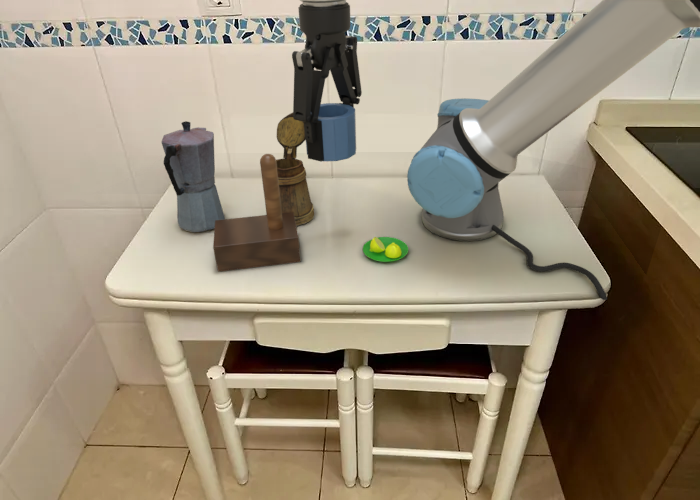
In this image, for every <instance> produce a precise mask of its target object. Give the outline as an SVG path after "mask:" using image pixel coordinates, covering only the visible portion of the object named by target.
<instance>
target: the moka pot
mask: <svg viewBox="0 0 700 500" xmlns="http://www.w3.org/2000/svg"><path fill="white" fill-rule="evenodd" d="M180 123H181V126H182V129H179V130H175V131H172V132H169V133H166V134H164V135H163V137H162V139H161V146H162V149H163V152H164V157H163V166H164V169H165V171H166V173H167V175H168V178H169V180H170V183H171V185H172V187H173V190H174V192H175V195H176V209H177V211H176V213H177V214H176V215H177V217H176V218H177V224H178V226H179V228H180V229H182V230H184V231H187V232H191V233H197V232H198V233H202V232H206V231H211V230H214V229H215V220H224V219H226V217H225V214H224V210H223V206H222V204H221V200H220V195H219V192H218V188H217V186H216V184H215V183H216V178H215V172H216V169H215V168H216V167H215V166H216V164H215V133H214V132H213V131H210V130H207V128H206V127H199V126H198V127H193V128H191V122H190V121H186V120H185V121H182V122H180Z"/></svg>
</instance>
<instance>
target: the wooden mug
mask: <svg viewBox="0 0 700 500" xmlns="http://www.w3.org/2000/svg"><path fill="white" fill-rule="evenodd" d="M276 140H277V142H278V143H279V145H280V146H281V147H282V149H283V155H282V158H278V159H276V163H277V172H278V181H279V191H280V200H281V209H282V213H289V212H294V217H295V222H296V227H297V226H301V225H305V224H307V223H309V222H311V221H312V220H313V219H314V217H315V207H314V204H313V202H312V200H311V195H310V191H309V186H308V181H307V171H306V167H305V166H304V163H303V161H302V160H301V159H297V157H298V156H297V152H298V148H299V147H300V146H301V145H302V144H303V143H304V142H306V140H305V132H304V123H303V121H298V120H294V118H293V112H290V113H289V114H287V115H285V116H284V117H283V118H282V119H280V120H279V122H278V123H277V126H276Z"/></svg>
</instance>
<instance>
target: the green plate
mask: <svg viewBox="0 0 700 500" xmlns="http://www.w3.org/2000/svg"><path fill="white" fill-rule="evenodd" d="M362 252H363V254H364V255H365V256H366V257H367V258H369V259H370V260H372V261H373V260H374V261H377V262H383V263H389V262H390V263H391V262H395V261H398V260H399V261H400V260H401V259H403V258H405V257H406V256H407V255H408V253H409V247H408V244H406V242H405V241H403V240H401V239H399V238H396V237H391V236H378V237H376V236H373V238H371V239H369V240H368V241H366V242H365V243H364V244H363V246H362Z"/></svg>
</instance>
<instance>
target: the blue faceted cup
mask: <svg viewBox="0 0 700 500" xmlns="http://www.w3.org/2000/svg"><path fill="white" fill-rule="evenodd" d="M340 103H341V102H329V103H327V102H326V103H321V105H320V110H319V116H318V120H319V121H322V136H323V152H324V160H323V161H322V162H339V161H344V160H348V159H350V158H352V157H353V156H355V155H356V153H357V127H356V126H357V125H356V124H357V122H356V120H357V119H356V108H355V107H354V108H353V107H351V106H350V105H346V104H340ZM311 114H312V113H311ZM305 148H306V150H307V141H306V140H305ZM306 156H308V153H307V152H306Z"/></svg>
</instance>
